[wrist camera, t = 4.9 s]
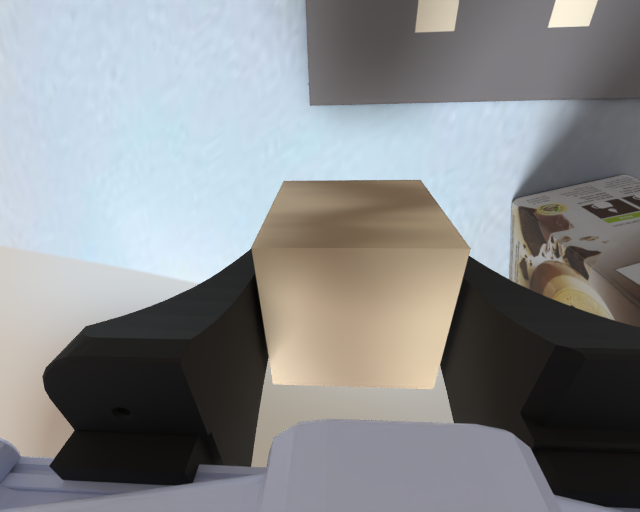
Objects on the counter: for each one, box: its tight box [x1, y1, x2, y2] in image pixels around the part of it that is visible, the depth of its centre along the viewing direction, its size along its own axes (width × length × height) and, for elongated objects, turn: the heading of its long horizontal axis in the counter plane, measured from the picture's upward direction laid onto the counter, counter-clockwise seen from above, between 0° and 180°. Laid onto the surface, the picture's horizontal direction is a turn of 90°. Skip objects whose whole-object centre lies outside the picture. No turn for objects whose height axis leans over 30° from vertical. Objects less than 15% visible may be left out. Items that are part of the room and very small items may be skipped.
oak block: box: [251, 180, 470, 389], centre depth 11 cm, size 5×5×5 cm
